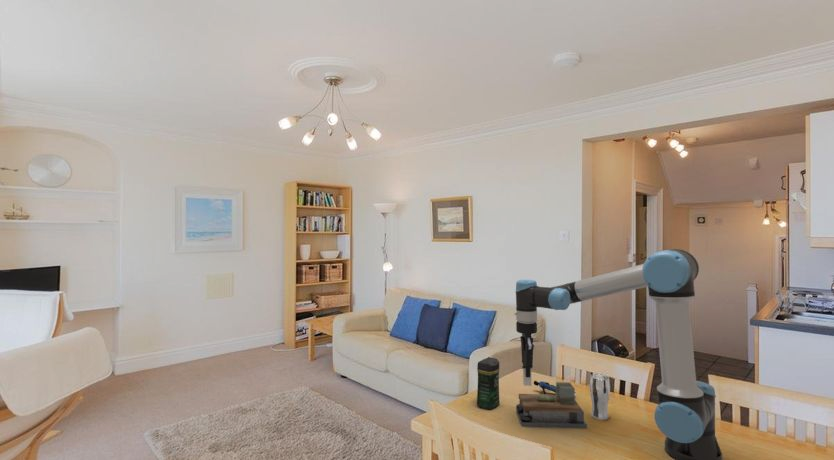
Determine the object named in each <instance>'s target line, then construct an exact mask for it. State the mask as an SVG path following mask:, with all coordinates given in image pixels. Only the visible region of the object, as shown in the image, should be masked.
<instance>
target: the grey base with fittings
mask: <svg viewBox="0 0 834 460" xmlns="http://www.w3.org/2000/svg"><path fill="white" fill-rule="evenodd" d="M515 407H516V408H515V413H516V416H517V419H518V421H519V424H520V426H521V427H526V428H529V427H532V428H556V429H557V428H559V429H560V428H561V429H588V424H587V421H585V411H584V410H583V409H582V408H581V413H573V412H543V411H524V409H523V406H522V404H521V402H520V401H519V403H518V404H516V406H515Z"/></svg>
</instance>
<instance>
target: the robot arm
mask: <svg viewBox="0 0 834 460" xmlns="http://www.w3.org/2000/svg"><path fill="white" fill-rule="evenodd" d="M699 271H700V266H699V263H698V260H697V259H696V258H695V256H694V255H693V254H691V253H690V252H688V251H685V250H684V249H679V248H678V249H676V248H674V249H666V250H659V251H656V252H654V253H653V254H651V255H650V256H649V257H648V258H647V259H645V261H644V263H642V264H638V265H634V266H630V267H626V268H622V269H619V270H618V269H617V270H615V271H611V272H607V273H603V274H600V275H596V276H592V277H587V278H584V279H580V280H577V281H573V282H569V283H564V284H562V285H561V284H560V285H555V286H551V287H549V286H548V287H546V286H539V285H538V284H537V281H536V280H533V279H519V280H517V281H516V283H515V308H516V310H515V312H514V316H515V317H516V324H515V326H516V327H515V330H516V332H517V333H519V334H521V336H520V337H519V338H520V349H521V363H522V366H521V369H522V374H523V375H522V378H523V379H522V380H523V381H522V384H523V386H524V387H525V386H526V387H527V386H530V387H531V386H532V369H533V361H534V347H535V345H534V344H533V343H534V338H533V337H532V335H533V334H534V335H535V334H536V333H538V323H537V321H538V309H537V308H541V309H549V310H554V311H566V310H567V309H568V308H569V307H570V305H572V304H576V303H581V302H584V301H590V300H594V299H598V298H602V297H607V296H612V295H616V294H622V293H625V292H630V291H634V290H638V289H639V290H640V289H644V288H648V297H649V298H650V299H652V300H653V301H654V302H655V303H654V304H655V315H656V317H655V318H656V326H657V327H656V328H657V338H658V339H657V340H658V352H659V362H660V374H661V383H660V384H658V385H657V386H656V396H657V397H656V398H657V406H656V408H655V410H654V414H653V415H654V422H655V424H656V427H657V428H658V429H659V431H660V432H661V433H662V434H663V435H664V436H666V437H665V439H664V451H665V452H666V454H667V453H668V454H667V455H668V456H670V455H671V456H672V457H671V456H670V457H671V458H673V457H674V458H676V459H678V460H723V453H722V449H721V448H720V444H719V442H718V438H717V437H716V397H717V396H716V391H715V388H714V386H712V385H711V384H709V383H706V382H703V381H700V380H697V375H696V365H695V364H696V363H695V353H694V351H695V350H694V342H693V341H694V340H693V330H692V320H691V318H692V317H691V308H690V302H691V301H692V300H693V299H694V298H695V297H696V295H695V293H696V292H695V283H694V281H695V280H696V279H697V278H698V275H699ZM674 458H673V459H674ZM676 459H675V460H676Z"/></svg>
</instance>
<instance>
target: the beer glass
mask: <svg viewBox="0 0 834 460" xmlns="http://www.w3.org/2000/svg"><path fill="white" fill-rule="evenodd" d="M589 392H590V393H589V394H590V399H591V405H592V407H591V408H592V409H591V412H590V414H591V417H592V418H594V419H596V420H599V421H606V420H609V418H610V417H609V411H608V408H609V407H608V405H609V401H610V394H611V385H610V377H609V376H607V375H606V374H599V373H593V374H591V375H590V380H589Z"/></svg>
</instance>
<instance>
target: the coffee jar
mask: <svg viewBox="0 0 834 460" xmlns="http://www.w3.org/2000/svg"><path fill="white" fill-rule="evenodd" d="M476 366H477V368H476V370H477V371H476V372H477V390H476V391H477V393H476V404H477V406H478V407H480V408H481V409H485V410H486V409H487V410H488V409H489V410H493V409H495V408H496V407H498V405H500V361H499V360H498V359H497V358H496V357H495V358H494V357H490V356H488V357H485V358H483V359H481V360H480V361H478V362H477V365H476Z"/></svg>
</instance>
